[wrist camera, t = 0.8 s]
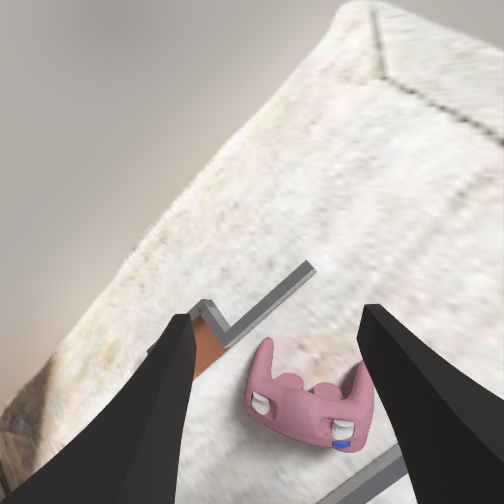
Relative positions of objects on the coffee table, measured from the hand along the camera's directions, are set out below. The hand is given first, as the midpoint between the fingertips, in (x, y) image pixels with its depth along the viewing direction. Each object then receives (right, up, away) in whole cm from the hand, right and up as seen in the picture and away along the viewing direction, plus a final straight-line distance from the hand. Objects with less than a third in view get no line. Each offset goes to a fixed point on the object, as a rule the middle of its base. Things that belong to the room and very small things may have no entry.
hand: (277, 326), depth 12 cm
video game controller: (+4, -8, +13) cm, 16 cm away
